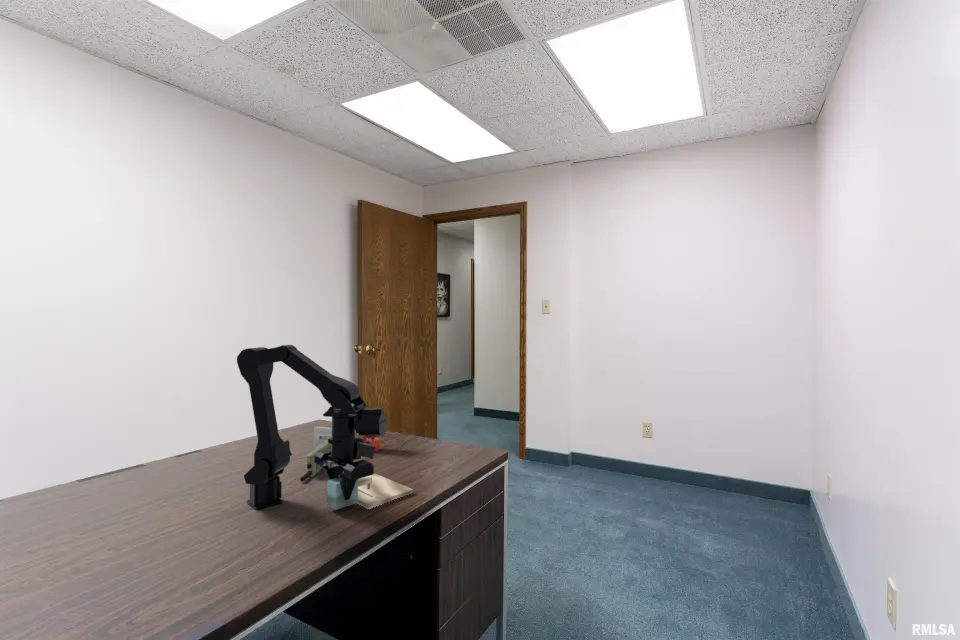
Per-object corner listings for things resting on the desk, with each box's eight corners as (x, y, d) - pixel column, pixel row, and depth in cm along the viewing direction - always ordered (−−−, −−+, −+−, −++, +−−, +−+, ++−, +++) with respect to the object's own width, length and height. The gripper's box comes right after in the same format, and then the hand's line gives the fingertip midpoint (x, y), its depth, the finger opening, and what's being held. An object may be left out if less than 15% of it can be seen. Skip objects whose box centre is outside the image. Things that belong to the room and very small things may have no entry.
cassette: (344, 450, 160) (344, 428, 160) (341, 451, 159) (341, 429, 159) (315, 447, 164) (315, 426, 164) (312, 448, 162) (312, 427, 162)
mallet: (335, 509, 107) (336, 484, 107) (327, 504, 110) (327, 480, 110) (374, 496, 116) (375, 473, 116) (366, 492, 118) (366, 469, 118)
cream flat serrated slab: (368, 509, 111) (368, 504, 111) (327, 488, 124) (327, 483, 124) (412, 493, 121) (412, 489, 121) (370, 475, 134) (370, 471, 134)
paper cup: (369, 454, 155) (370, 414, 155) (355, 450, 160) (356, 411, 160) (387, 449, 161) (387, 410, 161) (373, 445, 166) (373, 408, 166)
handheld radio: (337, 457, 153) (308, 484, 128) (327, 457, 153) (296, 484, 128) (337, 437, 153) (307, 460, 128) (327, 437, 153) (296, 460, 128)
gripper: (393, 435, 111) (392, 498, 111) (352, 422, 123) (351, 479, 123) (353, 444, 102) (352, 512, 102) (313, 429, 115) (312, 490, 115)
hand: (342, 497), depth 111 cm, fingers closed on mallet, 4 cm apart
